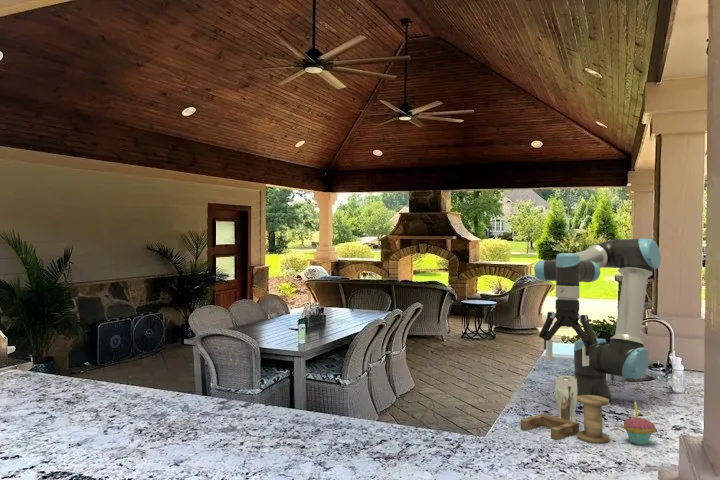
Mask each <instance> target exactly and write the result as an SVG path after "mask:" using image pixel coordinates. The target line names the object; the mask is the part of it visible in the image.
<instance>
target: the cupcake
mask: <svg viewBox="0 0 720 480" xmlns="http://www.w3.org/2000/svg"><path fill="white" fill-rule="evenodd" d="M633 404H634V413H635V416H631V417H629V418H627V419H625V420H624V421H623V429H625V432H626V433H627V436H628V439H629V441H630V443H633V444H636V445H642V446H643V445H648V444H649V441H650V439H651V436H652V434H655V433H656V426H655V424H654V423H653V422H651V421H650V420H649V419H647V418H643V417H639V413H638V412H639V411H638V404H637V401H636V400H634V403H633Z"/></svg>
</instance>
